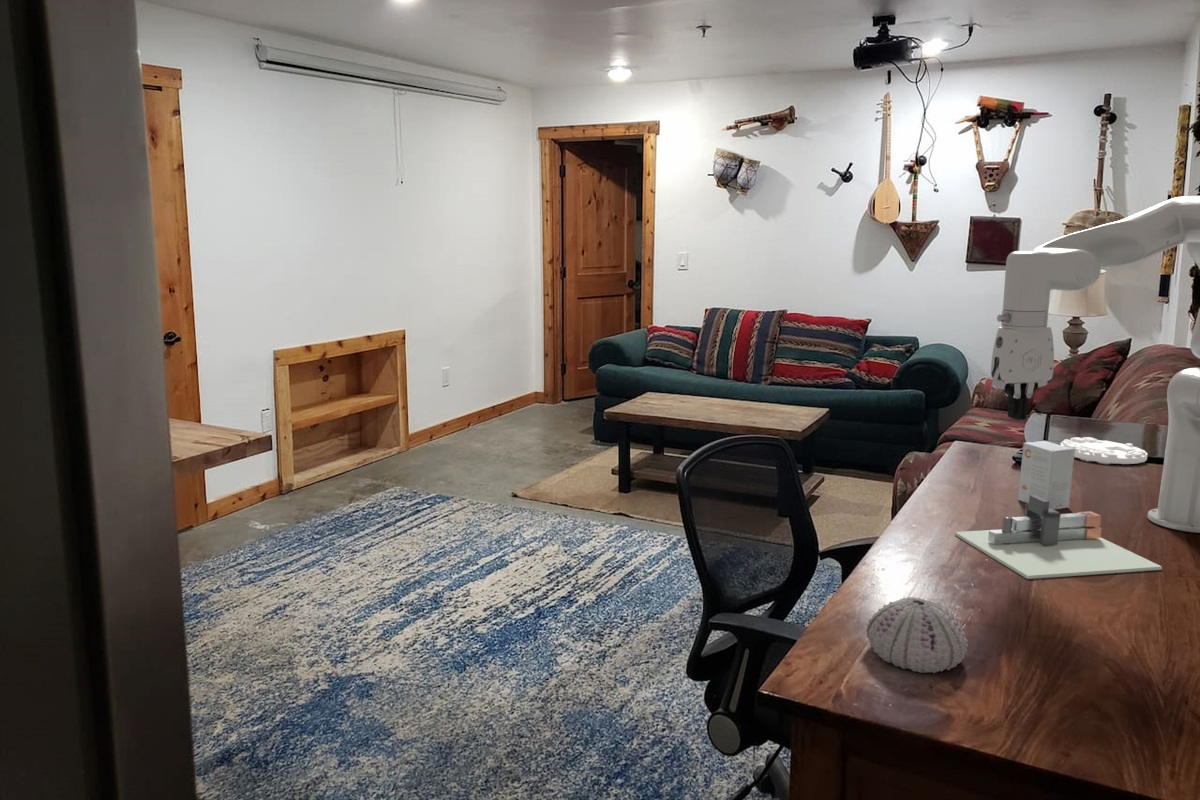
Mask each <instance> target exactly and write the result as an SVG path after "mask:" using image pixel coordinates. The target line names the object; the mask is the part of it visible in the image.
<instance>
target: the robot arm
mask: <svg viewBox="0 0 1200 800" xmlns="http://www.w3.org/2000/svg"><path fill="white" fill-rule="evenodd" d="M1183 244H1185V245H1186V249H1187V252H1188V255H1189V256H1190V258H1191V260H1192V261H1193V262H1194V263H1195V264H1196V265H1197V267H1198V269H1199V270H1200V195H1181V196H1177V197H1176V196H1175V197H1173V198H1172V197H1171V198H1170V199H1168V200H1165V201H1162V202H1159V203H1158V204H1155V205H1153V206H1149V208H1145V209H1144V210H1141V211H1139V212H1136V213H1133V214H1132V215H1129V216H1127V217H1125V218H1122V219H1120V220H1117V221H1113V222H1108V223H1105V224H1101V225H1098V226H1095V227H1092V228H1091V227H1090V228H1088V229H1084V230H1081V231H1077V232H1076V231H1075V232H1073V233H1069V234H1067V235H1063V236H1061V237H1058V238H1055V239H1052V240H1050V241H1048V242H1046V243H1044V244H1041V245H1039V246H1036V247H1034V248H1033V249H1031V250H1015V251H1012V252H1010V253H1009V254H1008V255H1007V256H1006V263H1005V273H1004V288H1003V289H1004V290H1003V301H1002V302H1003V303H1002V310H1001V312H1002V313H1001V314H998V315H997V316H996V319H997V322H999V323H1001V326H999V327H998V329H997V331H996V332H997V333H996V335H995V340H994V344H993V349H992V356H991V362H990V363H991V364H990V375H991V378H992V381H991V387H993V388H994V389H999V390H1002V391H1003V392H1004V393H1005V396H1007V397H1008V400H1007V402H1008V403H1007V416H1008V418H1011V419H1014V420H1016V421H1020V420H1027V418H1028V417H1027V415H1028V409H1029V399H1031V398H1032V396H1033V393H1034V392H1035V391H1036V390H1037V389H1039V388H1043V387H1045V386H1047V385H1048V381H1050V380H1052V378H1053V374H1054V367H1055V364H1054V363H1055V361H1054V360H1055V359H1054V358H1055V353H1054V352H1055V350H1054V349H1055V348H1054V347H1055V346H1054V337H1053V336H1054V335H1053V330H1052V327H1049V326H1048V323H1049V321H1048V320H1049V308H1050V298H1051V297H1050V295H1051V291H1053V290H1057V291H1062V292H1063V291H1064V292H1080V291H1084V290H1086V289H1089V288H1090V287H1092V286H1094V284H1096V282H1097V280H1098V279H1099V278H1100V274H1101V271H1102V268H1111V267H1112V268H1113V267H1122V266H1127V265H1133V264H1138V263H1140V262H1143V261H1145V260H1148V259H1150V258H1153V257H1154V256H1156V255H1159V254H1161V253H1164V252H1166V251H1168V250H1170V249H1173V248H1176V247H1177V246H1179V245H1183ZM1189 345H1190V350H1191V353H1192V354H1193V356H1195V357H1196V358H1198V359H1200V308H1198V312H1197V317H1196V320H1195V323H1194V327H1193V331H1192V334H1191V340H1190V344H1189ZM1166 391H1167V392H1166V398H1167V400H1166V401H1167V402H1166V403H1167V409H1168V410H1167V411H1168V423H1167V425H1168V426H1167V437H1166V444H1165V449H1164V450H1165V451H1164V459H1163V467H1162V473H1161V480H1160V481H1161V482H1160V488H1159V495H1158V501H1157V502H1158V503H1157V508H1152V509H1150V510H1148V512H1147V519H1148V520H1149V521H1151V522H1152V523H1154V524H1156V525H1159V526H1161V527H1164V528H1167V529H1171V530H1176V531H1180V532H1181V531H1182V532H1189V533H1198V534H1199V533H1200V367H1189V368H1185V369H1182V370H1180V371H1178V372H1177V373H1175V374H1174V375H1173V376H1172V377H1171V378H1170V381H1169V382H1168V386H1167V389H1166Z"/></svg>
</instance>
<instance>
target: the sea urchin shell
mask: <svg viewBox="0 0 1200 800" xmlns="http://www.w3.org/2000/svg"><path fill="white" fill-rule="evenodd" d="M865 632H866V636H865V637H866V638H867V639H868V641H869V646H870V647H871V648H873V652H874V653H875V654H877V656H878V657H880V658H881V659H882V660H883V661H885V662H887V663H888V664H893V665H894V666H895V667H900V668H901V669H903V670H907V669H909V670H911V671H912V672H918V673H920V674H921V673H926V674H927V673H933V674H936V673H938V672H943V671H945V670H947V671H950V670H951V669H952V668H956V667H957V665H959V664H961V663H962V660H963V659H965V658H966V657H965V655H966V654H967V651H968V647H969V645H968V642H969V641H968V639H967V638H966V633H965V631H964V630H963V628H962V624H961V623H959V619H958V618H956V617H955V615H954V613H952V612H951V611H949V609H948V608H947V607H945V606H944V605H942V604H940V603H939V602H936V601H935V602H934V601H931V600H927V599H926V600H925V599H922V598H920V597H914V596H907V597H903V598H900V599H898V600H895V601H889V603H888V604H884V605H883V607H882V608H878V611H876V612H875V613H874V614H873V615H872V617H871V618H869V619H868V622H867V624H866V629H865Z"/></svg>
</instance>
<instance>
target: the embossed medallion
mask: <svg viewBox="0 0 1200 800" xmlns="http://www.w3.org/2000/svg"><path fill="white" fill-rule="evenodd" d="M1059 445H1062V446H1066V447H1069V448H1073V449H1075V453H1074V459H1076V458H1078V459H1080V460H1081V461H1085V462H1096V463H1097V464H1103V465H1110V464H1116V465H1119V464H1121V465H1131V464H1132V465H1133V464H1140V463H1141V464H1142V463H1145V462H1146V461H1147V460H1148V454H1149V453H1148V452H1147V451H1146V450H1144V449H1142V448H1139V447H1138V446H1133V445H1134V444H1133V443H1128V442H1126V443H1120V442H1116V441H1115V442H1114V441H1110V440H1107V439H1106V440H1100V439H1097V438H1095V437H1089V436H1085V437H1084V436H1083V437H1079V436H1078V437H1077V436H1074V437H1070V439H1066V438H1064V440H1062V441H1060V444H1059Z"/></svg>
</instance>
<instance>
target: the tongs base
mask: <svg viewBox="0 0 1200 800" xmlns="http://www.w3.org/2000/svg"><path fill="white" fill-rule="evenodd" d="M1012 519H1013V518H1011V516H1003V517H1002V526H1001V529H1002V530H999V529H988V530H989V536H988V541H990V542H991V543H993V544H1010V543H1018V542H1035V541H1040V537H1041V529H1036V530H1022V531H1015V530H1013V529H1012ZM1102 530H1103V528H1102V527H1101V526H1090V527H1086V526H1079V527H1064V528H1059V533H1058V540H1067V539H1083V538H1085V539H1097V538H1102Z"/></svg>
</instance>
